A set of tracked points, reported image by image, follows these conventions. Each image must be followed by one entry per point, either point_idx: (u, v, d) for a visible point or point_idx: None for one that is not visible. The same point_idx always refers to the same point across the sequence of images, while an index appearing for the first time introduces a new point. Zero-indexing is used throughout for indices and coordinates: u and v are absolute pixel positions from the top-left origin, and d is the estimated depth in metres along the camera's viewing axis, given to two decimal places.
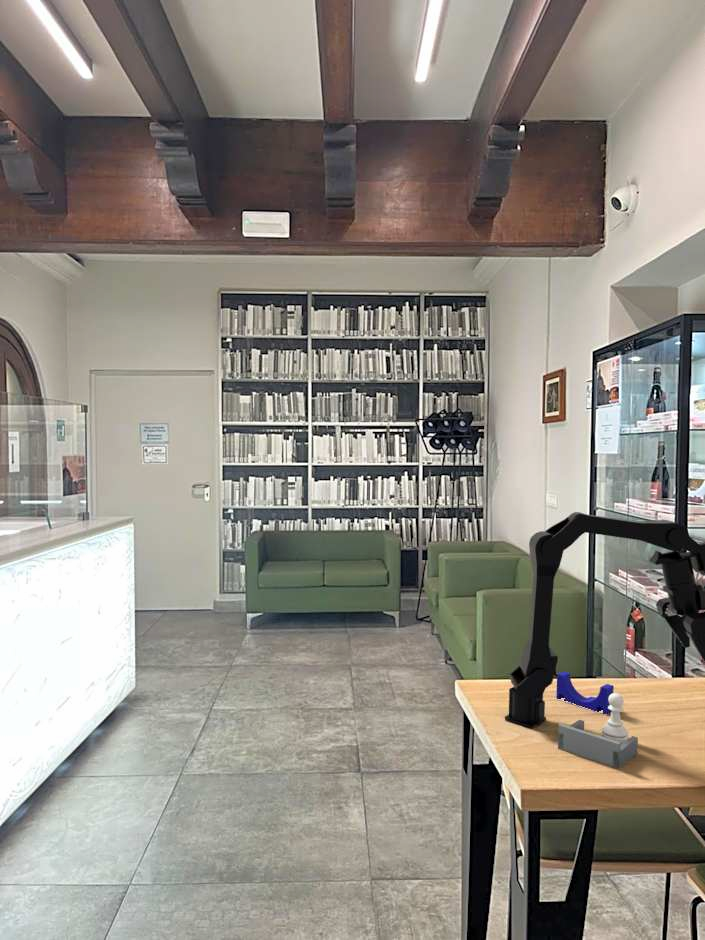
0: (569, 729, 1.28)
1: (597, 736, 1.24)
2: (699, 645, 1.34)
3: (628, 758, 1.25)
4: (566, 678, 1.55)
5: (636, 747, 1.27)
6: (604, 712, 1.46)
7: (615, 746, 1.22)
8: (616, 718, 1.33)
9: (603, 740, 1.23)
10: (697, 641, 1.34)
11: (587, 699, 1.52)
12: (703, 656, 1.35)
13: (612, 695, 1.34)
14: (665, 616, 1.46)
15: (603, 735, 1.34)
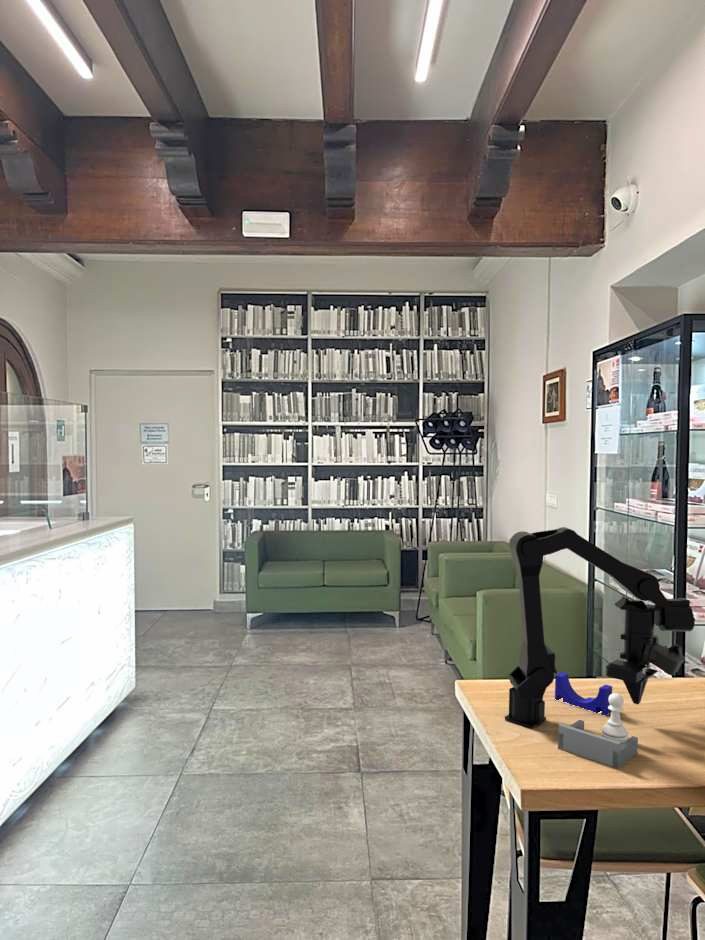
0: (569, 729, 1.28)
1: (597, 736, 1.24)
2: (628, 685, 1.42)
3: (628, 758, 1.25)
4: (564, 679, 1.54)
5: (636, 747, 1.27)
6: (603, 713, 1.46)
7: (615, 746, 1.22)
8: (616, 718, 1.33)
9: (603, 740, 1.23)
10: (626, 681, 1.42)
11: (586, 700, 1.51)
12: (632, 698, 1.42)
13: (612, 695, 1.34)
14: None
15: (603, 735, 1.34)
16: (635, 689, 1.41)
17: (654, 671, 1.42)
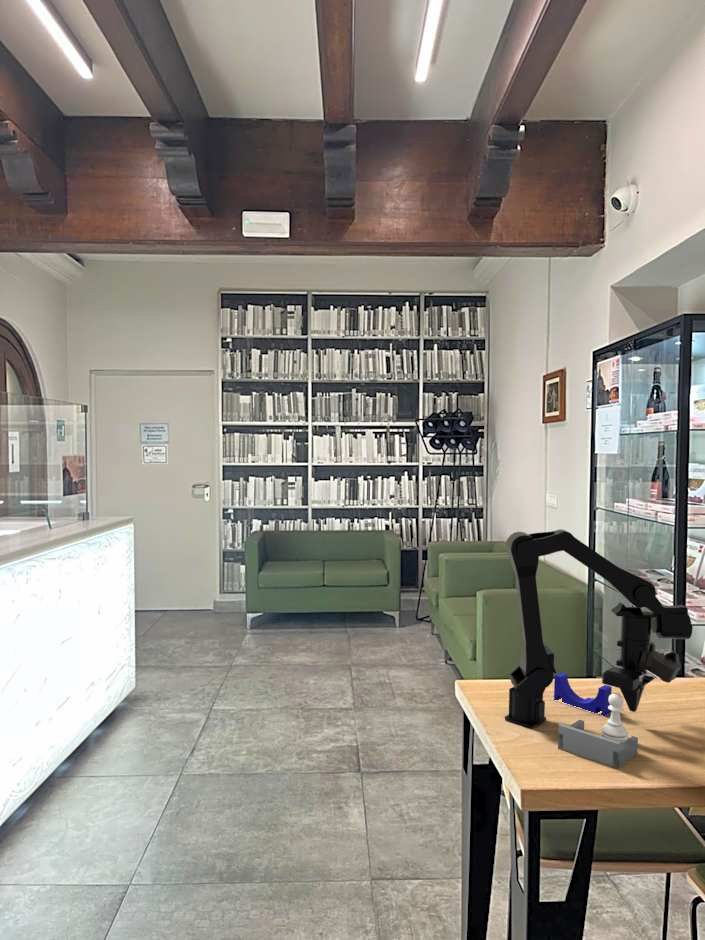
0: (569, 729, 1.28)
1: (597, 736, 1.24)
2: (625, 693, 1.41)
3: (628, 758, 1.25)
4: (564, 679, 1.54)
5: (636, 747, 1.27)
6: (602, 713, 1.46)
7: (615, 746, 1.22)
8: (616, 718, 1.33)
9: (603, 740, 1.23)
10: (623, 688, 1.41)
11: (585, 700, 1.51)
12: (628, 705, 1.41)
13: (612, 695, 1.34)
14: None
15: (603, 735, 1.34)
16: (632, 697, 1.40)
17: (651, 678, 1.41)
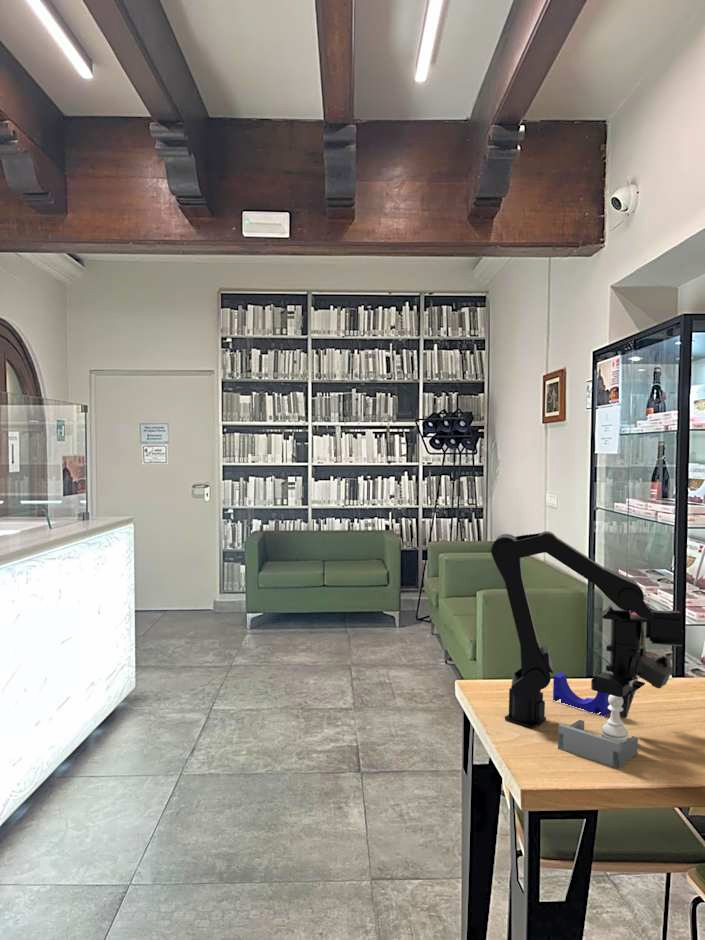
0: (569, 729, 1.28)
1: (597, 736, 1.24)
2: None
3: (628, 758, 1.25)
4: (563, 680, 1.53)
5: (636, 747, 1.27)
6: (602, 713, 1.45)
7: (615, 746, 1.22)
8: (616, 718, 1.33)
9: (603, 740, 1.23)
10: None
11: (584, 700, 1.51)
12: None
13: (612, 695, 1.34)
14: None
15: (603, 735, 1.34)
16: None
17: (641, 684, 1.37)
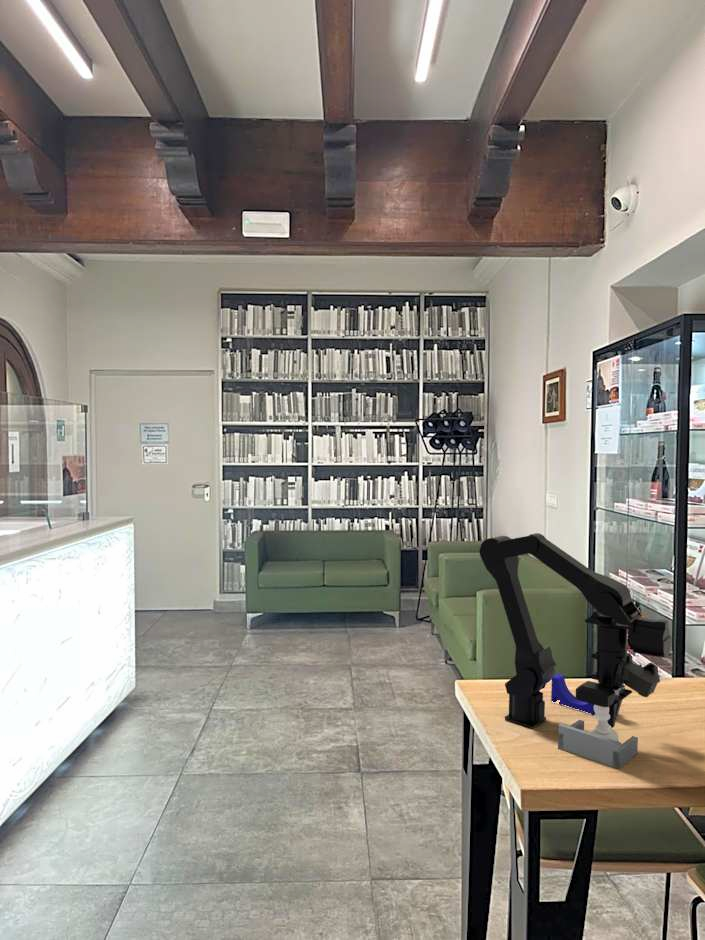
0: (569, 729, 1.28)
1: (597, 736, 1.24)
2: None
3: (628, 758, 1.25)
4: (561, 680, 1.53)
5: (636, 747, 1.27)
6: None
7: (615, 746, 1.22)
8: (603, 726, 1.29)
9: (603, 740, 1.23)
10: None
11: (582, 701, 1.50)
12: None
13: None
14: None
15: None
16: (609, 712, 1.31)
17: (628, 692, 1.31)
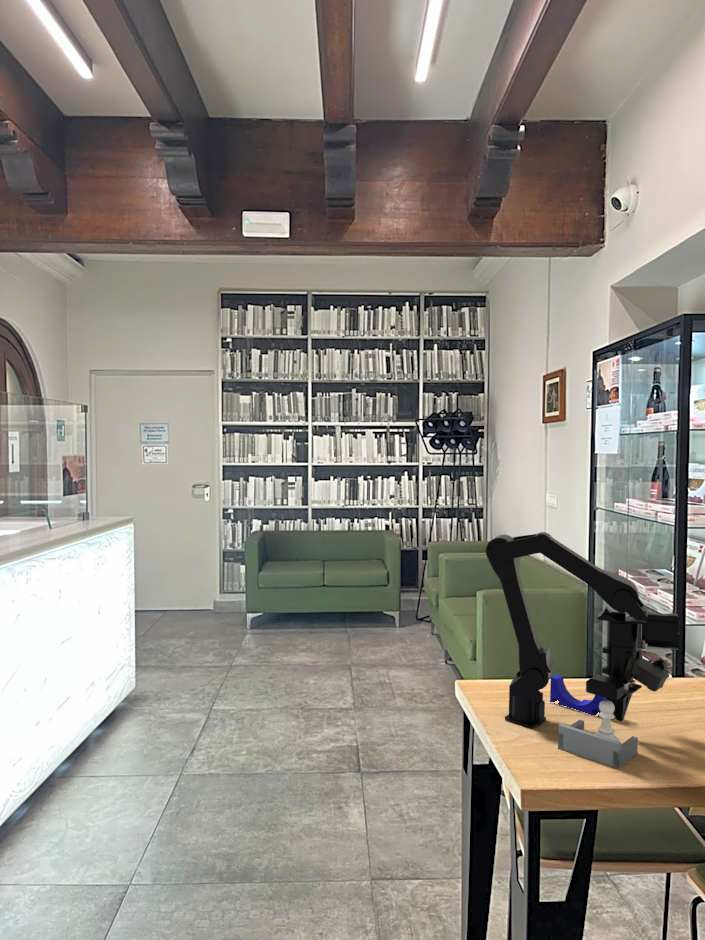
0: (569, 729, 1.28)
1: (597, 736, 1.24)
2: (611, 701, 1.35)
3: (628, 758, 1.25)
4: (560, 681, 1.52)
5: (636, 747, 1.27)
6: None
7: (615, 746, 1.22)
8: (607, 725, 1.30)
9: (603, 740, 1.23)
10: None
11: (581, 702, 1.50)
12: (615, 714, 1.35)
13: (603, 702, 1.30)
14: None
15: None
16: (618, 706, 1.34)
17: (638, 686, 1.35)
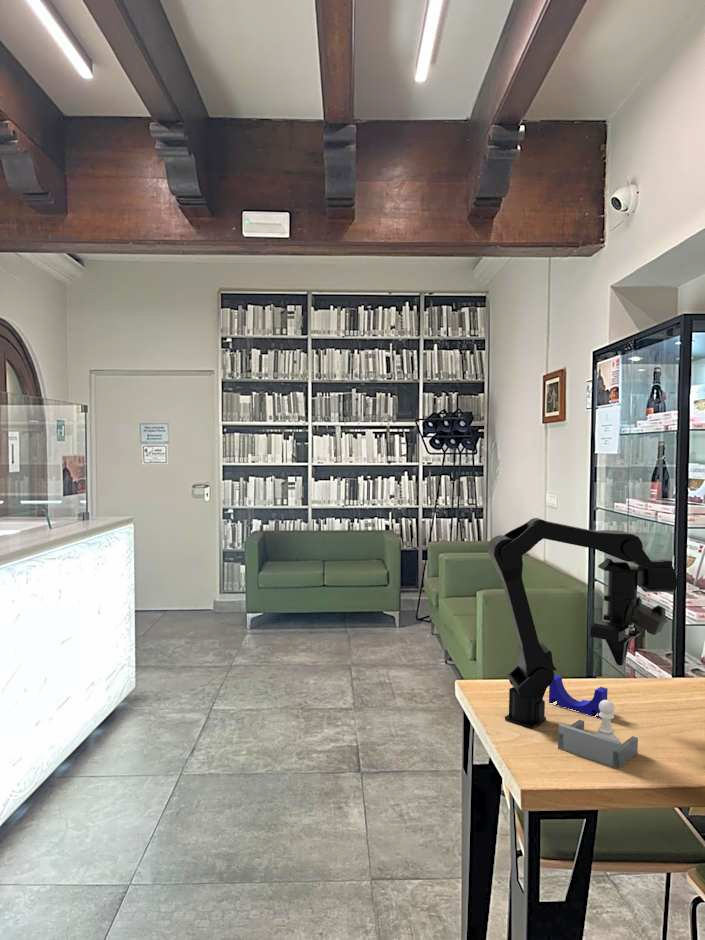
0: (569, 729, 1.28)
1: (597, 736, 1.24)
2: (612, 647, 1.42)
3: (628, 758, 1.25)
4: (558, 682, 1.52)
5: (636, 747, 1.27)
6: (599, 716, 1.44)
7: (615, 746, 1.22)
8: (606, 725, 1.30)
9: (603, 740, 1.23)
10: (610, 642, 1.42)
11: (580, 703, 1.49)
12: (615, 659, 1.42)
13: (602, 702, 1.30)
14: None
15: None
16: (619, 651, 1.41)
17: (637, 632, 1.42)
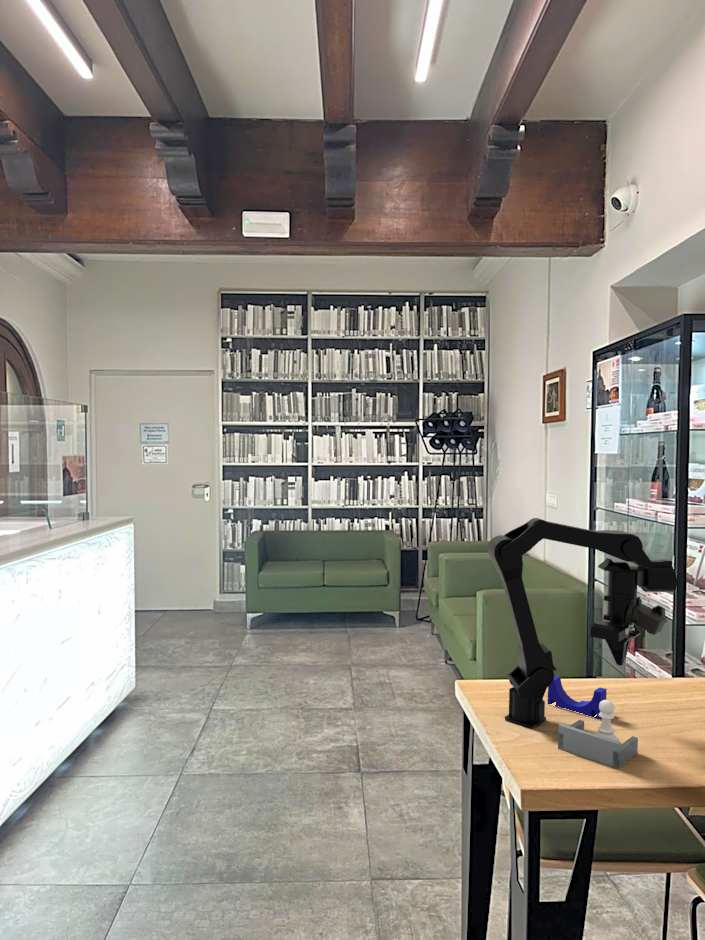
0: (569, 729, 1.28)
1: (597, 736, 1.24)
2: (612, 647, 1.42)
3: (628, 758, 1.25)
4: (557, 682, 1.52)
5: (636, 747, 1.27)
6: (598, 716, 1.44)
7: (615, 746, 1.22)
8: (606, 725, 1.30)
9: (603, 740, 1.23)
10: (610, 642, 1.42)
11: (579, 703, 1.49)
12: (615, 659, 1.42)
13: (603, 702, 1.30)
14: None
15: None
16: (618, 651, 1.41)
17: (637, 632, 1.42)
